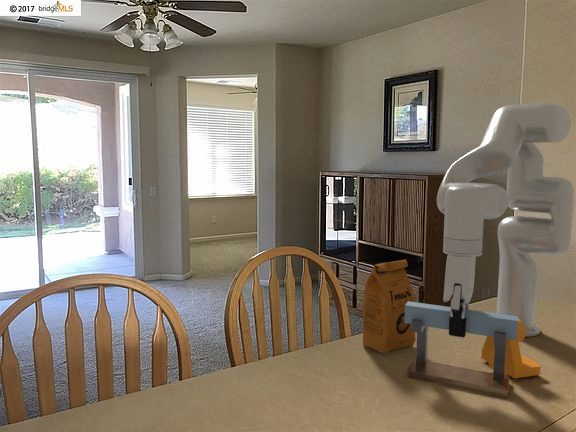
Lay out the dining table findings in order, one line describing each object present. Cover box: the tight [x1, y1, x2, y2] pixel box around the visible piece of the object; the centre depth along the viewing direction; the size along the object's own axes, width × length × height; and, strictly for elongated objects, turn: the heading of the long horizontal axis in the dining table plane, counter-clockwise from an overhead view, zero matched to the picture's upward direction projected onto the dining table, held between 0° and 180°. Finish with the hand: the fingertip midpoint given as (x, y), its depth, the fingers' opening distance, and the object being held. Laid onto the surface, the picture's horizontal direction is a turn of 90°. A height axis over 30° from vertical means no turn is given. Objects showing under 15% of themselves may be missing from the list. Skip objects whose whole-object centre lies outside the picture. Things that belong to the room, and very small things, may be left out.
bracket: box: [480, 318, 542, 379], centre depth 108 cm, size 11×7×12 cm, turn 16°
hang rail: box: [404, 301, 518, 341], centre depth 100 cm, size 3×22×4 cm, turn 63°
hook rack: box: [406, 319, 510, 399], centre depth 102 cm, size 8×20×15 cm, turn 63°
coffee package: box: [362, 259, 417, 354], centre depth 120 cm, size 10×12×22 cm
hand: (458, 331), depth 100 cm, fingers open, 4 cm apart
